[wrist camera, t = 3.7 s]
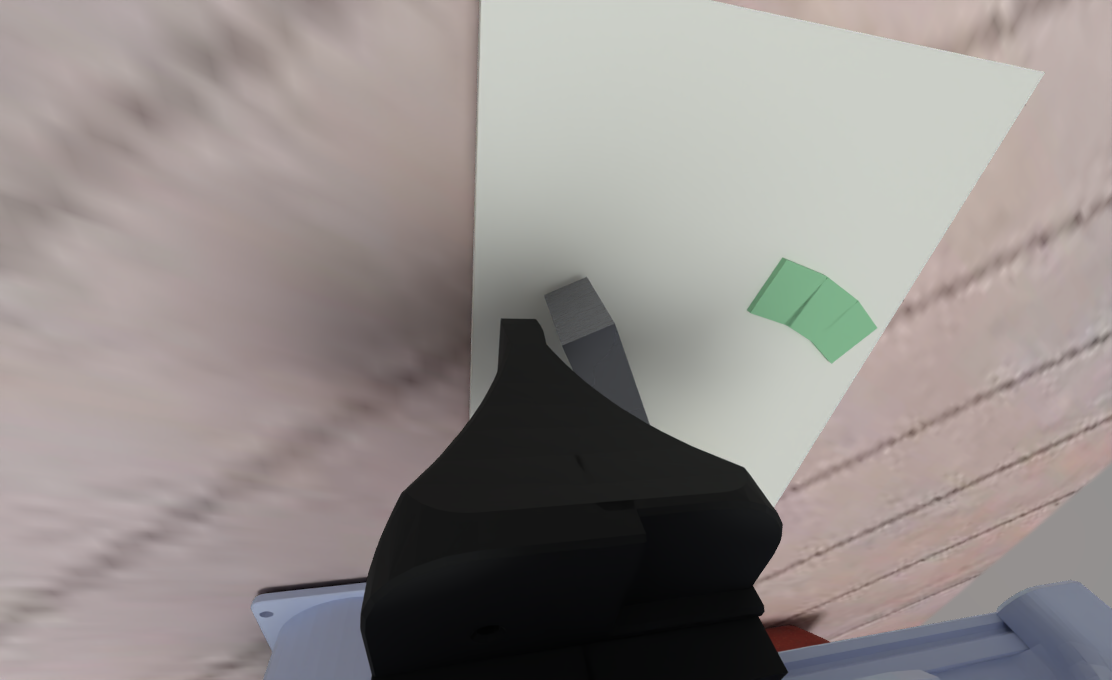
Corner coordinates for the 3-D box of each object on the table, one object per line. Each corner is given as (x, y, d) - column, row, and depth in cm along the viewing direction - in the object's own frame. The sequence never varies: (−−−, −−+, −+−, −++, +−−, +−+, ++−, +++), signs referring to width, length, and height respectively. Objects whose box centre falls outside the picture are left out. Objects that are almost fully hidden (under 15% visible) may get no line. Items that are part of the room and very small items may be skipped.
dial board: (735, 516, 22) (753, 546, 21) (466, 542, 19) (466, 579, 18) (983, 72, 12) (1054, 72, 10) (479, -31, 9) (482, -52, 7)
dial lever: (698, 499, 17) (733, 563, 15) (618, 531, 17) (640, 598, 15) (627, 255, 11) (670, 302, 8) (500, 309, 11) (509, 370, 9)
